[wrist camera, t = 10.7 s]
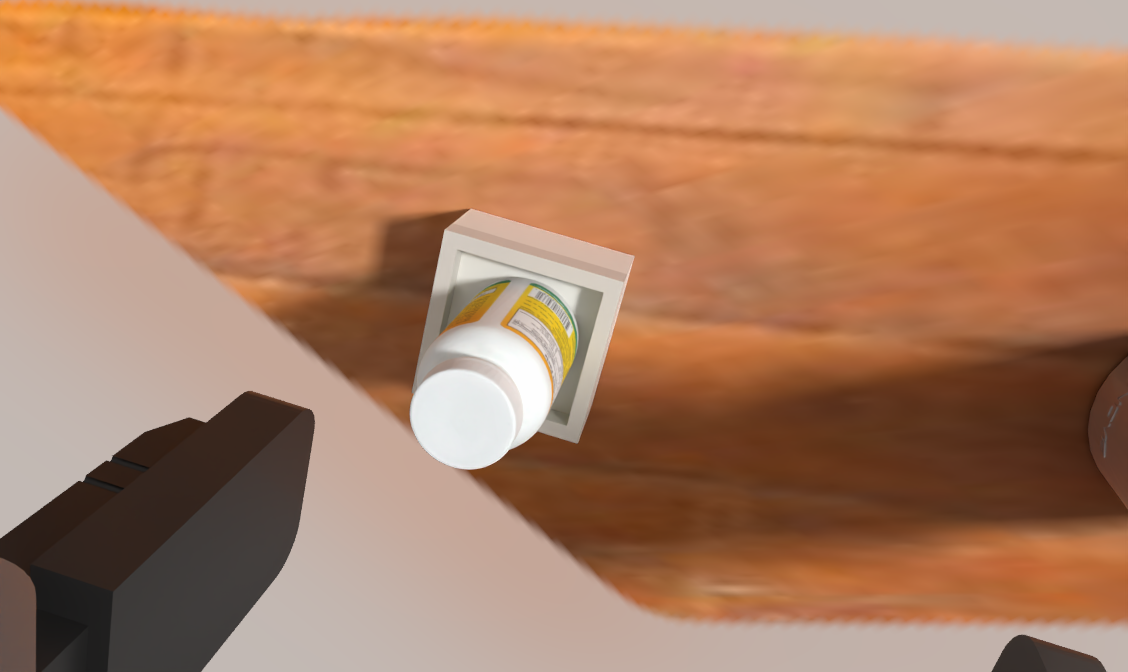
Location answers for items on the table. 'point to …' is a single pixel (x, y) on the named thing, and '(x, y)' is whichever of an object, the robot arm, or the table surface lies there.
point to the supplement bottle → (493, 373)
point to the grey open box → (567, 265)
